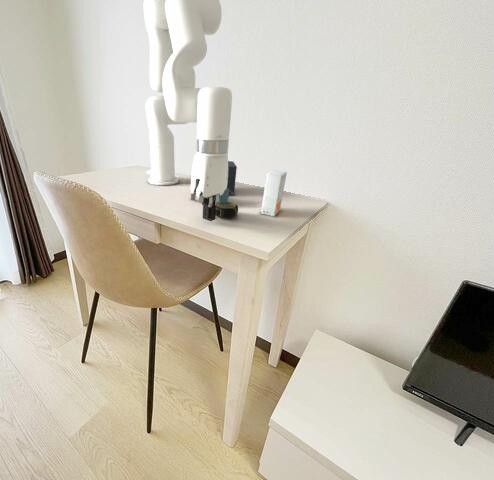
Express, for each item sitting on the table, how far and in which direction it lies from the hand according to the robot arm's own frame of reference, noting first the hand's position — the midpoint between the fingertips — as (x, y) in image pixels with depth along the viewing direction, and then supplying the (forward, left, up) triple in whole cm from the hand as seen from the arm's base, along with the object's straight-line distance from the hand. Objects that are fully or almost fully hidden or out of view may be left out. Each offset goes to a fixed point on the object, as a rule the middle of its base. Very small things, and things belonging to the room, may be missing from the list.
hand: (208, 219), depth 69 cm
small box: (-14, +28, -2) cm, 32 cm away
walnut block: (-15, +15, -1) cm, 21 cm away
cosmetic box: (+9, +20, -1) cm, 22 cm away
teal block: (-8, +15, -1) cm, 17 cm away
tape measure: (0, +7, -2) cm, 7 cm away
